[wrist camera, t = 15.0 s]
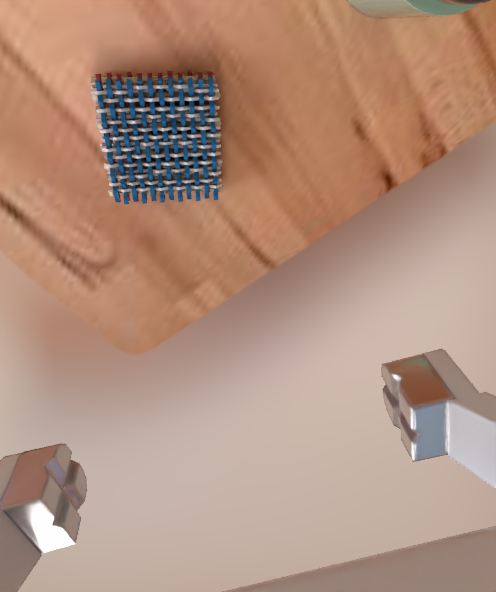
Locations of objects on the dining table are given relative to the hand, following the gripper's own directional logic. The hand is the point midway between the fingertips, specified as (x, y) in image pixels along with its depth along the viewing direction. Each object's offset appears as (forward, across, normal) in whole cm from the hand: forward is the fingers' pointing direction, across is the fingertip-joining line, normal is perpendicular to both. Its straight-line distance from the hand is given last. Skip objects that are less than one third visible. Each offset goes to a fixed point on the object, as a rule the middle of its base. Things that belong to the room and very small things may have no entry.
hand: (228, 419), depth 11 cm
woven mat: (+33, +3, -1) cm, 33 cm away
